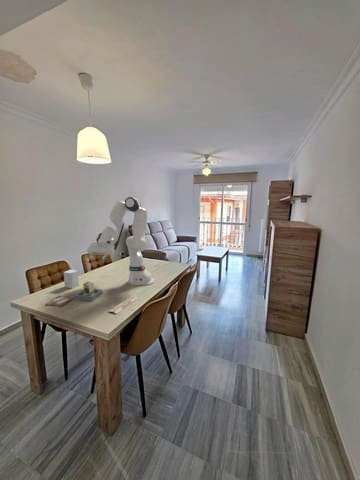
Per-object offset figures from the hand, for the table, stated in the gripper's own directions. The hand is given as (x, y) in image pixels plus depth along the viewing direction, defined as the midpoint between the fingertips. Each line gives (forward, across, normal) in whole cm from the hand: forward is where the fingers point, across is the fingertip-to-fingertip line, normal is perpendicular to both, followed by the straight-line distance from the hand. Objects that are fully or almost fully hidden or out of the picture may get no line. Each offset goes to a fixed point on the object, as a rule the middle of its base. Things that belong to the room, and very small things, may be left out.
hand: (96, 258), depth 152 cm
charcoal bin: (+26, +1, +9) cm, 28 cm away
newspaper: (+32, +31, +4) cm, 44 cm away
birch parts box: (+26, +1, +9) cm, 28 cm away
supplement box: (+16, -23, +20) cm, 35 cm away
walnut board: (+34, -14, +2) cm, 37 cm away
